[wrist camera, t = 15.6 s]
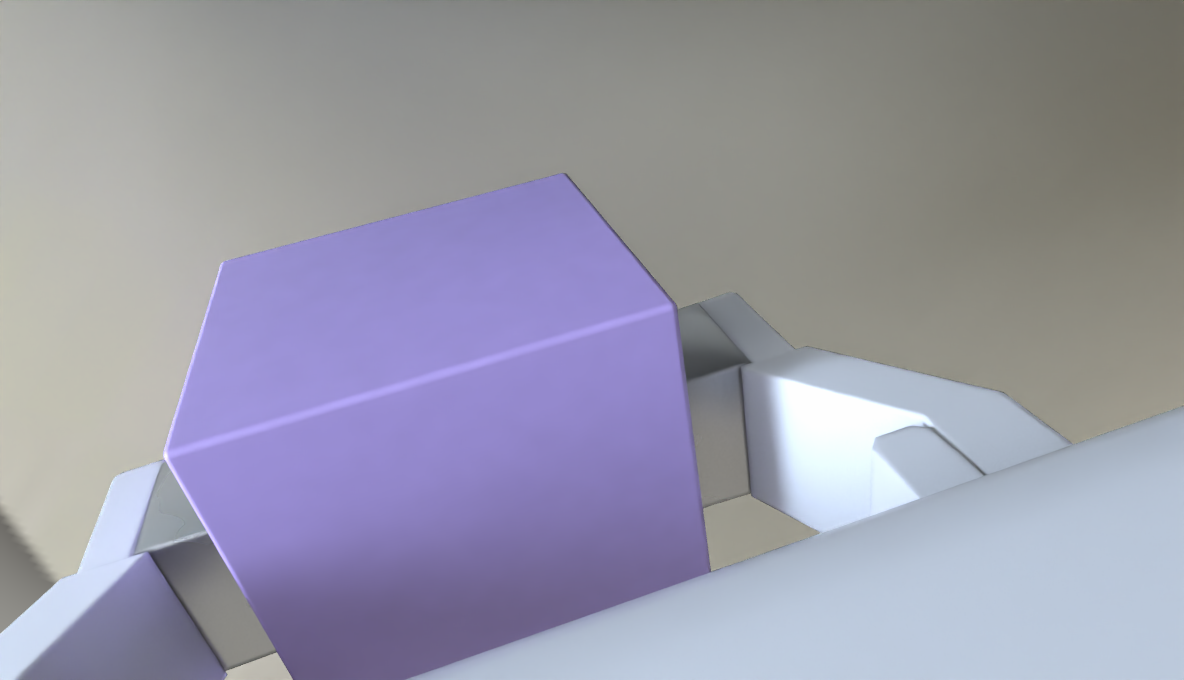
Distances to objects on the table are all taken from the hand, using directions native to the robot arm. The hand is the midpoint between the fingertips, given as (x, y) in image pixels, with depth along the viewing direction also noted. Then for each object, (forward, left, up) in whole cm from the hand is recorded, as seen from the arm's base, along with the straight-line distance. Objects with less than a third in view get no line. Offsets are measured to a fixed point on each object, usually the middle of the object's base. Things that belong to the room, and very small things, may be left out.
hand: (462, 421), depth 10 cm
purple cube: (0, 0, -2) cm, 2 cm away
